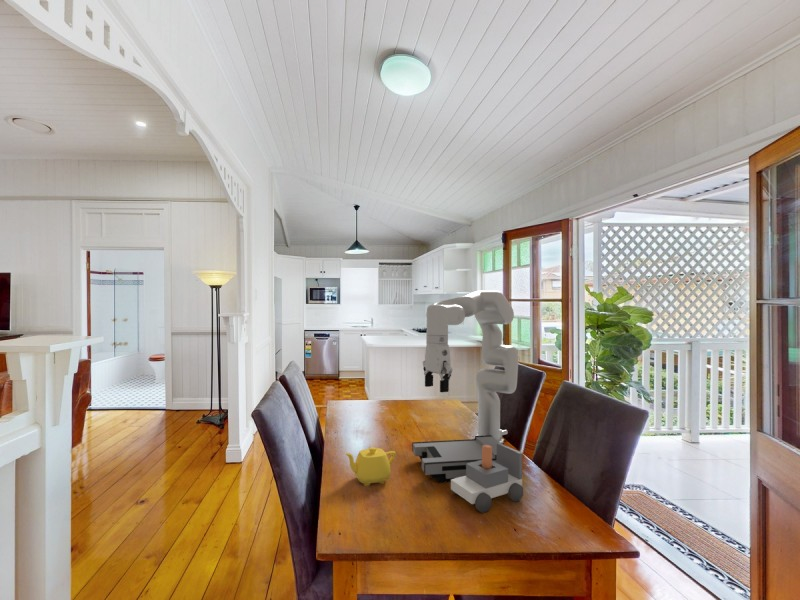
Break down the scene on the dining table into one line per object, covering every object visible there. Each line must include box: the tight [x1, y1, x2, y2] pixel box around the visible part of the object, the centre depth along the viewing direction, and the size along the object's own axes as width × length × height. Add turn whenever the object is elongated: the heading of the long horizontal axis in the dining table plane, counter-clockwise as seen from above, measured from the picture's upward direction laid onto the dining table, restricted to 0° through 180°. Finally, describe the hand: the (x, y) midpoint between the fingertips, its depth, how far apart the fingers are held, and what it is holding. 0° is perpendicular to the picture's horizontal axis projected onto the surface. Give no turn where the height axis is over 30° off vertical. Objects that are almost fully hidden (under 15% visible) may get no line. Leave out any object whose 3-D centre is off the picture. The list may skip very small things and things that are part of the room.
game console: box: [411, 435, 500, 484], centre depth 137 cm, size 21×32×8 cm, turn 100°
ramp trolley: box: [449, 443, 525, 514], centre depth 117 cm, size 20×13×14 cm, turn 119°
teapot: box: [344, 446, 397, 487], centre depth 127 cm, size 18×11×11 cm, turn 110°
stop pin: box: [482, 445, 492, 470], centre depth 117 cm, size 3×3×10 cm
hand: (436, 389), depth 132 cm, fingers open, 9 cm apart
